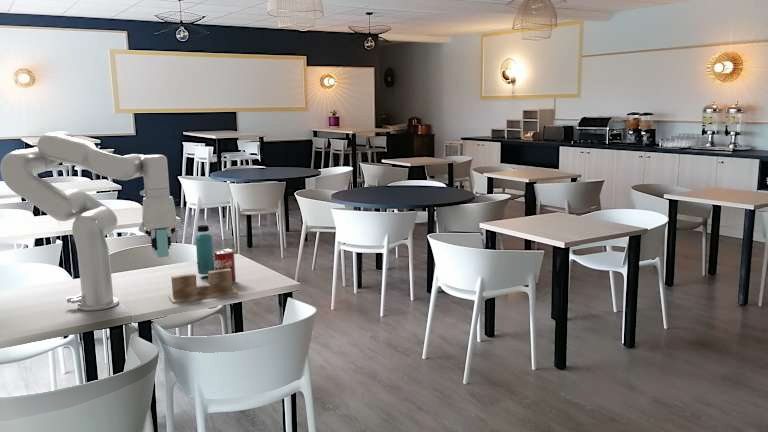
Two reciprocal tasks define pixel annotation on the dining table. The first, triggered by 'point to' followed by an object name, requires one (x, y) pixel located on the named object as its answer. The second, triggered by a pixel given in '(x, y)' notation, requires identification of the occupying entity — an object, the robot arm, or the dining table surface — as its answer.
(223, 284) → the walnut slotted stand
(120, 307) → the dining table surface
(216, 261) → the soda can
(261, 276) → the dining table surface
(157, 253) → the teal rectangular block
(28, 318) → the dining table surface
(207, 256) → the beverage bottle
